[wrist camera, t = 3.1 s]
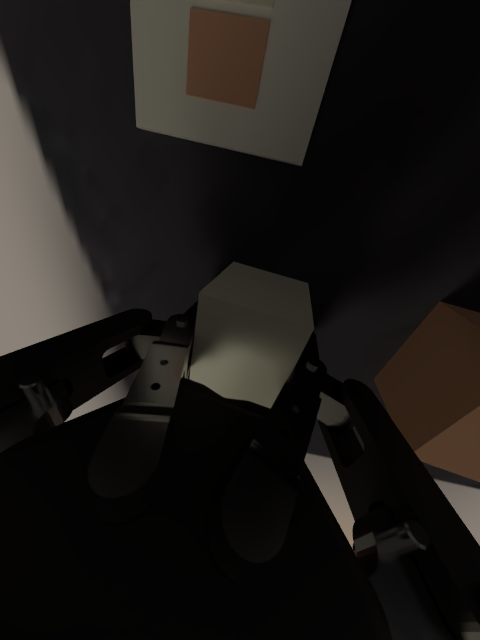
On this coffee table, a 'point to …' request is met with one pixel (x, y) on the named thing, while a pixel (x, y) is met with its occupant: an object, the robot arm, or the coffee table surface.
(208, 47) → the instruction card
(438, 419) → the brick terracotta
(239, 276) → the brick cream
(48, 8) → the coffee table surface
